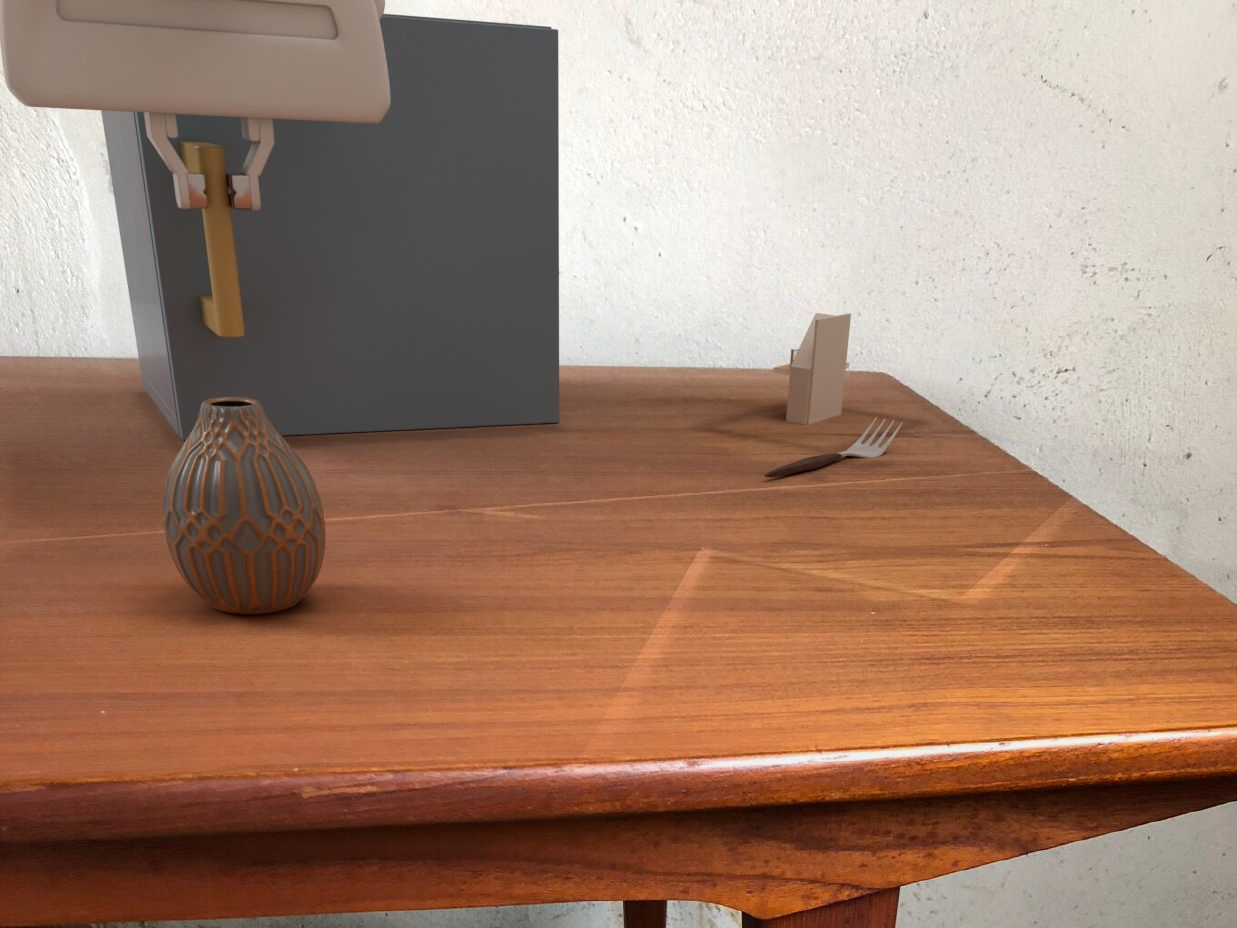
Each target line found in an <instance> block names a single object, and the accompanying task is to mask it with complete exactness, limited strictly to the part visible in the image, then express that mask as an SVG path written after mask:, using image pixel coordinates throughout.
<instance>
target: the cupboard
mask: <svg viewBox="0 0 1237 928" xmlns="http://www.w3.org/2000/svg"><path fill="white" fill-rule="evenodd" d="M383 16H394V17H407V18H420V19H433V20H445V21H458V22H471V23H484V24H496V25H509V26H522V27H535V28H547V29H552V26H546V25H533V24H520V23H510V22H509V23H507V22H497V21H496V22H495V21H485V20H484V21H482V20H470V19H469V20H468V19H457V18H445V17H431V16H419V15H407V14H406V15H405V14H393V13H383ZM100 112H101V119H102V126H103V131H104V138H105V145H106V152H107V158H108V159H107V160H108V165H109V166H108V167H109V171H110V172H109V173H110V177H111V179H110V180H111V185H112V193H113V198H114V205H115V211H116V218H117V225H118V231H119V238H120V243H121V245H120V246H121V251H122V257H123V264H124V270H125V271H124V272H125V276H126V284H127V290H128V297H129V303H130V311H131V316H132V322H133V329H134V330H133V331H134V336H135V342H136V343H135V344H136V350H137V355H138V362H139V363H138V364H139V369H140V375H141V381H142V382H141V383H142V387H143V389H144V390H145V391H146V393H147V394H148V396H149V397H150V398H151V400H152V401H153V403H154V404H155V406H157V408H158V409H159V411H160V413H162V415H163V416H164V418H165V419H166V420H167V422H168V424H169V425H170V426H171V427H172V429H173V430H174V432H175V433H176V434H177V436H178V437H180V430H179V423H178V416H177V409H176V402H175V395H174V388H173V381H172V373H171V366H170V359H169V352H168V345H167V338H166V331H165V324H164V317H163V310H162V303H161V296H160V288H159V281H158V274H157V267H156V260H155V253H154V246H153V239H152V232H151V225H150V218H149V211H148V204H147V196H146V189H145V182H144V175H143V168H142V161H141V154H140V147H139V140H138V133H137V126H136V119H135V112H125V111H104V110H100ZM180 438H181V437H180Z"/></svg>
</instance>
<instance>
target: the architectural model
mask: <svg viewBox="0 0 1237 928" xmlns="http://www.w3.org/2000/svg"><path fill="white" fill-rule="evenodd" d="M851 318H852V313H850V312H847V313H843V314H838V315H835V314H829V313H828V314H827V313H821V312H816V313H814V316H813V318H812V320H811V322H810V324H809V326H808V328H807V331H806V332H805V334H804V337H803V339H802V341H801V344H800V345H799V347H798V348H797V349H794V348H791V350H790V358H789V359H790V361H789V363H787V364H784V365H778V366H774V367H773V369H772V370H773V372H772V373H773V374H778V375H785V376H789V379H788V380H789V381H788V394H787V405H786V416H785V417H786V419H785V422H789V423H795V424H800V425H801V424H802V425H812V424H815V423H818V422H822V421H824V420H829V419H832V418H835V417H837V416H841V415H842V409H843V401H844V389H845V380H846V370H847V369H850V363H849V362H848V361H847V359H848V350H849V340H850V330H851V329H850V328H851V320H852V319H851ZM795 352H796V353H795Z"/></svg>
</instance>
